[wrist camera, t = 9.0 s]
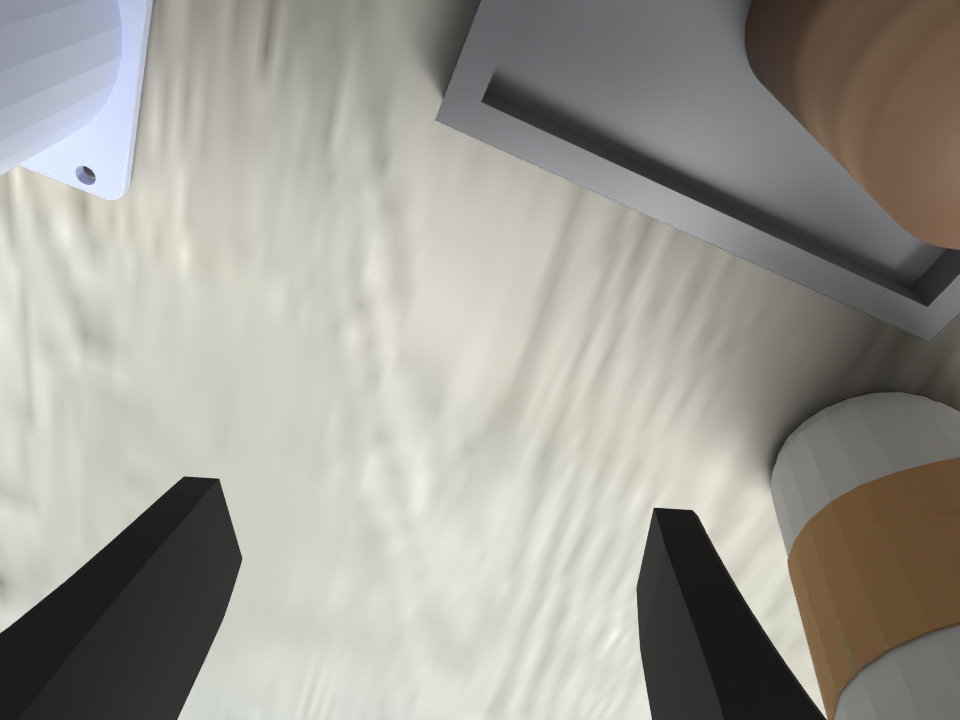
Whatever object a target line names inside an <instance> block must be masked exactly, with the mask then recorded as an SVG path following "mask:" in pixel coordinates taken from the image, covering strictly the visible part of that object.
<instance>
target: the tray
mask: <svg viewBox="0 0 960 720" xmlns="http://www.w3.org/2000/svg"><path fill="white" fill-rule="evenodd" d="M752 1H753V0H481V2H480V5H479V7H478V10H477V13H476V15H475V18H474V20H473V23H472V26H471V28H470V31H469V33H468V36H467V39H466V41H465V44H464V47H463V49H462V52H461V54H460V57H459V60H458V62H457V65H456V67H455V70H454V73H453V75H452V78H451V81H450V83H449V86H448V88H447V91H446V94H445V96H444V99H443V101H442V104H441V107H440V109H439V112H438V115H437V117H436V121H438V122H440V123H442V124H445V125H447V126H449V127H451V128H453V129H456V130H458V131H460V132H462V133H465V134H467V135H469V136H471V137H473V138H476V139H478V140H480V141H482V142H485V143H487V144H489V145H491V146H494V147H496V148H498V149H500V150H502V151H505V152H507V153H509V154H511V155H514V156H516V157H518V158H520V159H523V160H525V161H527V162H529V163H531V164H534V165H536V166H538V167H540V168H543V169H545V170H547V171H549V172H551V173H554V174H556V175H558V176H560V177H563V178H565V179H567V180H569V181H572V182H574V183H576V184H578V185H580V186H583V187H585V188H587V189H589V190H592V191H594V192H596V193H598V194H601V195H603V196H605V197H607V198H609V199H612V200H614V201H616V202H618V203H621V204H623V205H625V206H627V207H630V208H632V209H634V210H636V211H638V212H641V213H643V214H645V215H647V216H650V217H652V218H654V219H656V220H658V221H661V222H663V223H665V224H667V225H670V226H672V227H674V228H676V229H679V230H681V231H683V232H685V233H687V234H690V235H692V236H694V237H696V238H699V239H701V240H703V241H705V242H708V243H710V244H712V245H714V246H716V247H719V248H721V249H723V250H725V251H728V252H730V253H732V254H734V255H736V256H739V257H741V258H743V259H745V260H748V261H750V262H752V263H754V264H757V265H759V266H761V267H763V268H765V269H768V270H770V271H772V272H774V273H777V274H779V275H781V276H783V277H786V278H788V279H790V280H792V281H794V282H797V283H799V284H801V285H803V286H806V287H808V288H810V289H812V290H815V291H817V292H819V293H821V294H823V295H826V296H828V297H830V298H832V299H835V300H837V301H839V302H841V303H843V304H846V305H848V306H850V307H852V308H855V309H857V310H859V311H861V312H864V313H866V314H868V315H870V316H872V317H875V318H877V319H879V320H881V321H884V322H886V323H888V324H890V325H893V326H895V327H897V328H899V329H901V330H904V331H906V332H908V333H910V334H913V335H915V336H917V337H919V338H921V339H924V340H926V341H928V342H930V341H931V340H932V339H933V338H934V337H935V336H936V335H937V334H938V333H939V332H940V331H941V330H942V329H943V328H944V327H945V326H946V325H947V324H948V323H949V322H950V321H951V320H952V319H953V318H954V317H955V316H956V315H957V314H958V313H959V312H960V250H959V249H950V248H944V247H939V246H936V245H933V244H929V243H926V242H924V241H922V240H920V239H918V238H916V237H914V236H912V235H911V234H909V233H908V232H907V231H905V230H904V229H902V228H901V227H900V226H899V225H898V224H897V223H896V222H895V221H894V220H893V218H892V217H891V216H890V215H889V214H888V213H887V212H886V211H885V210H884V209H883V208H882V207H881V206H880V205H879V204H878V203H877V202H876V201H875V200H874V199H873V198H872V197H871V196H870V195H869V194H868V193H867V192H866V191H865V190H864V189H863V188H862V187H861V186H860V185H859V184H858V182H857V181H856V180H855V179H854V178H853V177H852V176H851V175H850V174H849V173H848V172H847V171H846V170H845V169H844V168H843V167H842V166H841V165H840V164H839V163H838V162H837V161H836V160H835V159H834V158H833V157H832V156H831V155H830V154H829V153H828V152H827V151H826V150H825V149H824V147H823V146H822V145H821V144H820V143H819V142H818V141H817V140H816V139H815V138H814V137H813V136H812V135H811V134H810V133H809V132H808V131H807V130H806V129H805V128H804V127H803V126H802V125H801V124H800V123H799V122H798V121H797V120H796V119H795V118H794V117H793V116H792V115H791V114H790V113H789V111H788V110H787V109H786V108H785V107H784V106H783V105H782V104H781V103H780V102H779V101H778V100H777V99H776V98H775V97H774V96H773V95H772V94H771V93H770V92H769V91H768V90H767V89H766V88H765V87H764V86H763V85H762V84H761V83H760V82H759V80H758V79H757V78H756V76H755V75H754V73H753V71H752V69H751V67H750V65H749V62H748V59H747V55H746V49H745V27H746V21H747V17H748V12H749V10H750V7H751V4H752Z"/></svg>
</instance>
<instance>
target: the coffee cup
mask: <svg viewBox="0 0 960 720" xmlns="http://www.w3.org/2000/svg"><path fill="white" fill-rule="evenodd" d="M770 488H771V493H772V498H773V503H774V507H775V511H776V515H777V518H778V522H779V526H780V529H781V533H782V537H783V541H784V544H785V548H786V552H787V555H788V560H787V561H788V568H789V574H790V578H791V581H792V585H793V589H794V593H795V597H796V601H797V604H798V608H799V612H800V616H801V620H802V623H803V627H804V631H805V635H806V639H807V642H808V646H809V650H810V654H811V658H812V661H813V665H814V669H815V673H816V677H817V680H818V684H819V688H820V692H821V696H822V700H823V703H824V707H825V711H826V715H827V719H828V720H960V411H958V410H956V409H954V408H952V407H949V406H947V405H945V404H943V403H941V402H936V401H934V400H931V399H929V398H927V397H925V396H920V395H914V394H909V393H903V392H886V393H872V394H867V395H862V396H858V397H853V398H848V399H846V400H844V401H841V402H839V403H836V404H834V405H831V406H829V407H826V408H824V409H822V410H821V411H819V412H818V413H816V414H815V415H813V416H812V417H810V418H808V419H807V420H805V421H804V422H803V423H802V424H801V425H800V426H799V427H798V428H797V429H796V430H795V431H794V432H793V433H792V434H791V435H790V436H789V437H788V438H787V439H786V441H785V443H784V445H783V446H782V448H781V450H780V451H779V453H778V456H777V461H776V464H775V466H774V469H773V474H772V479H771V483H770Z"/></svg>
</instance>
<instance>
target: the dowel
mask: <svg viewBox="0 0 960 720" xmlns="http://www.w3.org/2000/svg"><path fill="white" fill-rule="evenodd" d="M745 49H746V55H747V59H748V62H749V65H750V67H751V69H752V71H753V73H754V75H755V76H756V78H757V79H758V80H759V82H760V83H761V84H762V85H763V86H764V87H765V88H766V89H767V90H768V91H769V92H770V93H771V94H772V95H773V96H774V97H775V98H776V99H777V100H778V101H779V102H780V103H781V104H782V105H783V106H784V107H785V108H786V109H787V110H788V111H789V113H790V114H791V115H792V116H793V117H794V118H795V119H796V120H797V121H798V122H799V123H800V124H801V125H802V126H803V127H804V128H805V129H806V130H807V131H808V132H809V133H810V134H811V135H812V136H813V137H814V138H815V139H816V140H817V141H818V142H819V143H820V144H821V145H822V146H823V147H824V149H825V150H826V151H827V152H828V153H829V154H830V155H831V156H832V157H833V158H834V159H835V160H836V161H837V162H838V163H839V164H840V165H841V166H842V167H843V168H844V169H845V170H846V171H847V172H848V173H849V174H850V175H851V176H852V177H853V178H854V179H855V180H856V181H857V182H858V184H859V185H860V186H861V187H862V188H863V189H864V190H865V191H866V192H867V193H868V194H869V195H870V196H871V197H872V198H873V199H874V200H875V201H876V202H877V203H878V204H879V205H880V206H881V207H882V208H883V209H884V210H885V211H886V212H887V213H888V214H889V215H890V216H891V217H892V218H893V220H894V221H895V222H896V223H897V224H898V225H899V226H900V227H901V228H902V229H904V230H905V231H907V232H908V233H909V234H911V235H912V236H914V237H916V238H918V239H920V240H922V241H924V242H926V243H929V244H933V245H936V246H939V247H944V248H950V249H959V250H960V0H753V1H752V4H751V7H750V10H749V12H748V17H747V21H746V27H745Z"/></svg>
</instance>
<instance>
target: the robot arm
mask: <svg viewBox="0 0 960 720" xmlns="http://www.w3.org/2000/svg"><path fill="white" fill-rule="evenodd" d="M152 4H153V0H0V175H2V174H4V173H5V172H7V171H9V170H11V169H12V168H14V167H16V166H18V165H20V166H22V167H25V168H27V169H30V170H32V171H35V172H38V173H40V174H43V175H45V176H48V177H50V178H53V179H55V180H58V181H60V182H63V183H66V184H68V185H71V186H73V187H76V188H78V189H81V190H83V191H86V192H88V193H91V194H94V195H96V196H99V197H101V198H104V199H108V200H115V199H118V198H120V197H121V196H122V195H124V194H125V193H126V192H127V191H128V189H129V187H130V181H131V173H132V165H133V157H134V148H135V140H136V132H137V124H138V116H139V108H140V100H141V92H142V84H143V76H144V68H145V60H146V52H147V44H148V36H149V28H150V20H151V12H152ZM83 166H86V167H88V168H89V169H91V170H92V171H93V173H94V174H95V178H96V179H92V178H90V177H89V176H88V175H87V174H86V173H85V171H84V167H83ZM241 562H242V556H241V552H240V549H239V545H238V542H237V539H236V535H235V532H234V528H233V525H232V521H231V518H230V515H229V511H228V508H227V504H226V501H225V497H224V494H223V491H222V487H221V484H220V480H219V479H214V478H199V477H183V478H182V479H181V480H180V481H178V482H177V483H176V484H175V485H174V486H173V487H171V488H170V489H169V490H168V491H167V492H166V493H165V494H164V495H162V496H161V497H160V498H159V499H158V500H157V501H156V502H155V503H154V504H152V505H151V506H150V507H149V508H148V509H147V510H146V511H145V512H144V513H142V514H141V515H140V516H139V517H138V518H137V519H136V520H135V521H134V522H132V523H131V524H130V525H129V526H128V527H127V528H126V529H125V530H124V531H122V532H121V533H120V534H119V535H118V536H117V537H116V538H115V539H113V540H112V541H111V542H110V543H109V544H108V545H107V546H106V547H104V548H103V549H102V550H101V551H100V552H99V553H97V554H96V555H95V556H94V557H93V558H92V559H91V560H89V561H88V562H87V563H86V564H85V565H84V566H83V567H81V568H80V569H79V570H78V571H77V572H76V573H75V574H73V575H72V576H71V577H70V578H69V579H68V580H66V581H65V582H64V583H63V584H62V585H60V586H59V587H58V588H57V589H55V590H54V591H53V592H52V593H50V594H49V595H48V596H47V597H45V598H44V599H43V600H42V601H41V602H39V603H38V604H37V605H36V606H34V607H33V608H32V609H31V610H29V611H28V612H27V613H26V614H24V615H23V616H22V617H21V618H20V619H18V620H17V621H16V622H15V623H13V624H12V625H11V626H10V627H8V628H7V629H6V630H4V631H3V632H2V633H0V720H177V719H178V717H179V715H180V712H181V710H182V708H183V706H184V704H185V702H186V699H187V697H188V695H189V693H190V691H191V689H192V686H193V684H194V682H195V680H196V678H197V676H198V673H199V671H200V669H201V667H202V665H203V663H204V660H205V658H206V656H207V654H208V652H209V649H210V647H211V645H212V643H213V641H214V638H215V636H216V634H217V632H218V630H219V627H220V625H221V623H222V620H223V618H224V616H225V613H226V610H227V607H228V604H229V601H230V598H231V595H232V592H233V588H234V585H235V582H236V578H237V575H238V572H239V569H240V565H241ZM637 606H638V624H639V638H640V651H641V657H642V663H643V669H644V675H645V681H646V687H647V693H648V699H649V705H650V710H651V716H652V720H827V719H826V718H825V717H824V716H823V714H822V713H821V712H820V710H819V709H818V707H817V706H816V705H815V703H814V702H813V701H812V699H811V698H810V697H809V695H808V694H807V693H806V691H805V690H804V688H803V687H802V685H801V684H800V683H799V681H798V680H797V678H796V677H795V676H794V674H793V673H792V671H791V670H790V669H789V667H788V666H787V664H786V663H785V661H784V660H783V658H782V657H781V655H780V654H779V653H778V651H777V650H776V648H775V647H774V645H773V644H772V642H771V641H770V639H769V637H768V636H767V634H766V633H765V631H764V630H763V628H762V627H761V625H760V623H759V622H758V620H757V619H756V617H755V616H754V614H753V612H752V611H751V609H750V608H749V606H748V605H747V603H746V601H745V600H744V598H743V596H742V595H741V593H740V591H739V590H738V588H737V586H736V585H735V583H734V581H733V580H732V578H731V576H730V574H729V573H728V571H727V569H726V568H725V566H724V564H723V562H722V560H721V559H720V557H719V555H718V553H717V552H716V550H715V548H714V546H713V544H712V542H711V540H710V539H709V537H708V535H707V533H706V531H705V529H704V527H703V525H702V523H701V521H700V519H699V517H698V516H697V514H696V513H695V512H694V511H693V510H681V509H666V508H654V509H653V514H652V519H651V523H650V528H649V533H648V537H647V542H646V546H645V551H644V556H643V560H642V565H641V570H640V574H639V579H638V583H637Z"/></svg>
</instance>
